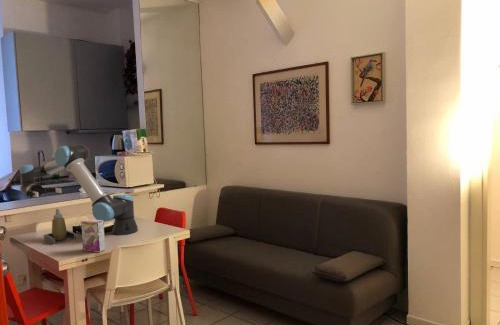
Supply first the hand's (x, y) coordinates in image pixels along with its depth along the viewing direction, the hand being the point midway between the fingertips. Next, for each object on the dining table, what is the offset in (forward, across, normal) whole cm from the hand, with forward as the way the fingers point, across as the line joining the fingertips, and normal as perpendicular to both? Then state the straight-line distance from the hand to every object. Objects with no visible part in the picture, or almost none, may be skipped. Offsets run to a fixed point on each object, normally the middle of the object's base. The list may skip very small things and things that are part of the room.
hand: (49, 192), depth 252 cm
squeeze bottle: (+8, 0, -27) cm, 28 cm away
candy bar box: (+45, -2, -29) cm, 53 cm away
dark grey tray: (+9, 0, -28) cm, 29 cm away
